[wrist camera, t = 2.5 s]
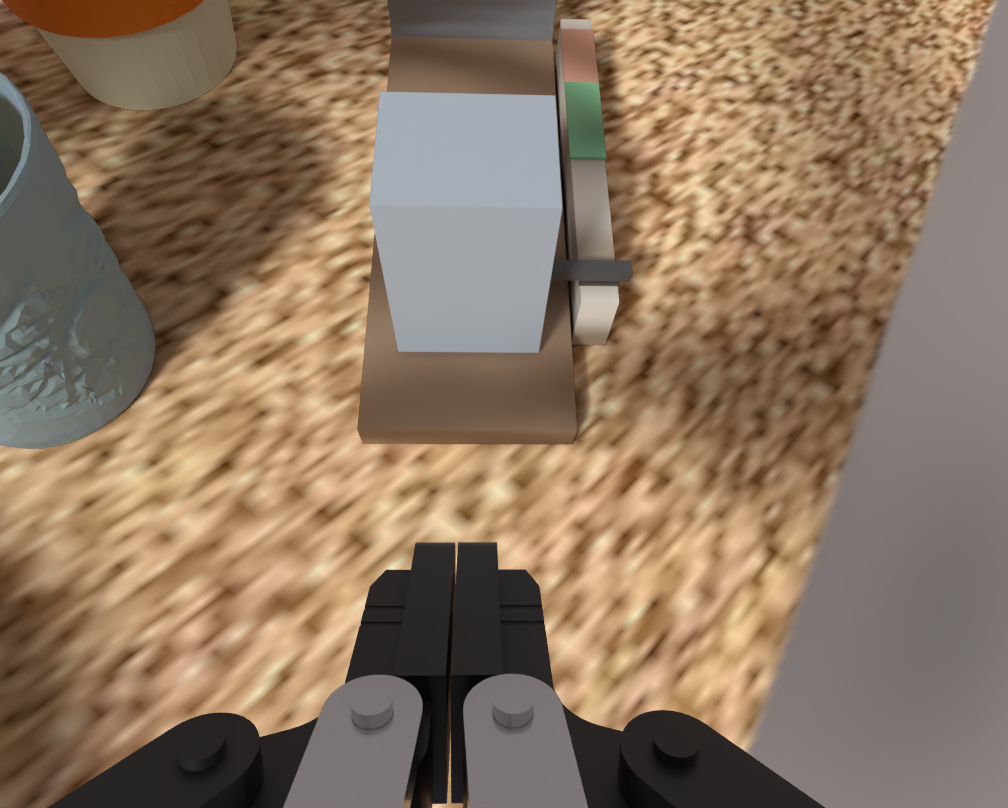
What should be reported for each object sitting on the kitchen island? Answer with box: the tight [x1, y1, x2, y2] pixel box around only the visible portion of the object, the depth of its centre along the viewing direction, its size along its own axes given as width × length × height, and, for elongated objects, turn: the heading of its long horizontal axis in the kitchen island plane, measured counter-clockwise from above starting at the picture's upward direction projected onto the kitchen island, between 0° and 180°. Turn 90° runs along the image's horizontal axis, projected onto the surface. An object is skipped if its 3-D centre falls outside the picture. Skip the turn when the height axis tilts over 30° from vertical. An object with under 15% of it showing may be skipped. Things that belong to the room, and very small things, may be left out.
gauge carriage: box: [369, 92, 633, 353], centre depth 27 cm, size 8×10×9 cm
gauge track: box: [357, 0, 619, 444], centre depth 31 cm, size 28×11×12 cm, turn 1°
